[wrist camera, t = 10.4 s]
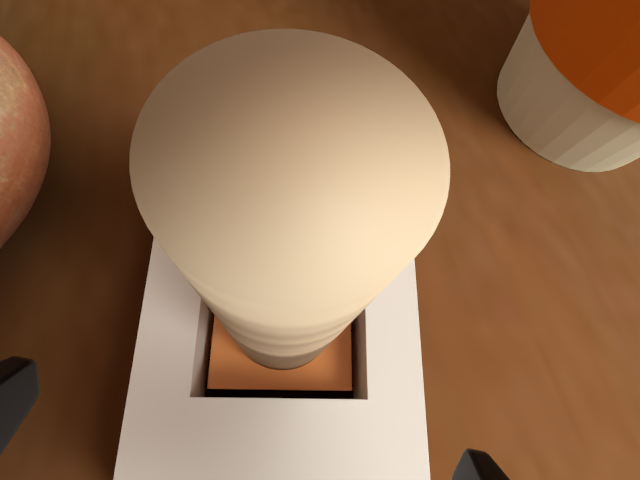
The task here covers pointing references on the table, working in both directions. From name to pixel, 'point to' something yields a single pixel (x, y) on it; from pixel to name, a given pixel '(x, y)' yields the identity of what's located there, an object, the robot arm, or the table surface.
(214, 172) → the cream ridged cylinder
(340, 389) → the breaker button
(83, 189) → the table surface
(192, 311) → the frame
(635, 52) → the reusable coffee cup
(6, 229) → the ceramic jug
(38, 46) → the table surface
